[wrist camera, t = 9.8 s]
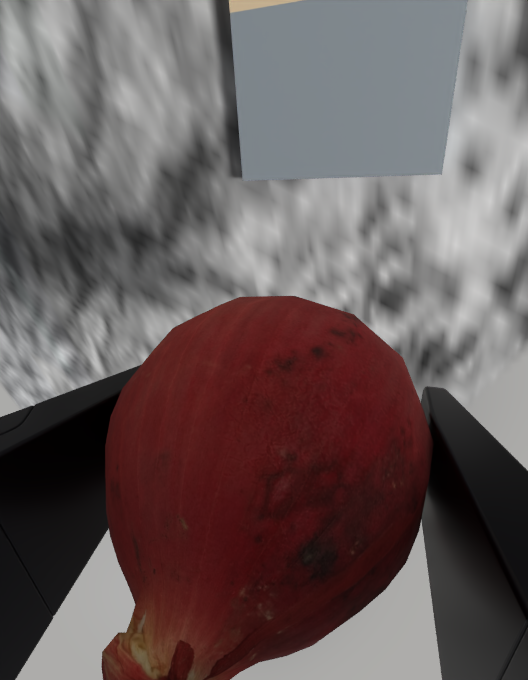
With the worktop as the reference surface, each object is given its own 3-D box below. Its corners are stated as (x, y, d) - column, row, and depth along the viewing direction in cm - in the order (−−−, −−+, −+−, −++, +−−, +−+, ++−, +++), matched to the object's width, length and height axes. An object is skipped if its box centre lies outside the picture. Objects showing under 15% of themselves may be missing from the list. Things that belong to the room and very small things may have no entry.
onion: (369, 207, 8) (250, 503, 2) (451, 411, 10) (553, 961, 3) (177, 298, 11) (-162, 551, 4) (267, 447, 13) (121, 795, 6)
